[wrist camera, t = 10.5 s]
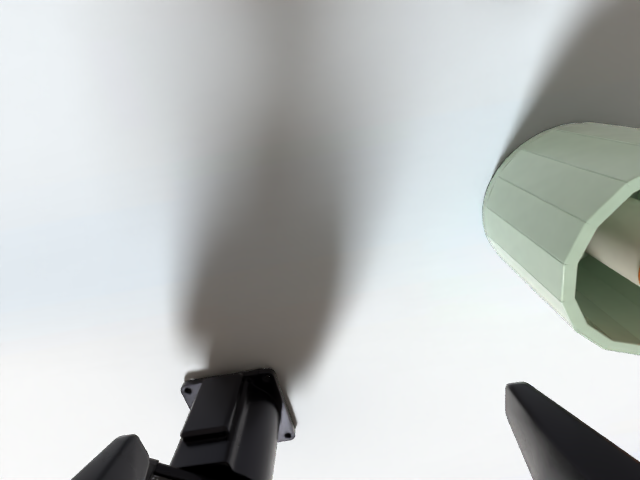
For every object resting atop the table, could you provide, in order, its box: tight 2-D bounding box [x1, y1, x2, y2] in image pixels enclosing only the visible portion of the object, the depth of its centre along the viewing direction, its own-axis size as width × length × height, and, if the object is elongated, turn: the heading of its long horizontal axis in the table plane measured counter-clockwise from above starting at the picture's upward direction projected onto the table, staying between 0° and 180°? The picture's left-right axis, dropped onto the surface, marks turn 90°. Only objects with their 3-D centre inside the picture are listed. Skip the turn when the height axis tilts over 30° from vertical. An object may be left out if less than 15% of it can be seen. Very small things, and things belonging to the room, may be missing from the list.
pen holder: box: [482, 122, 640, 355], centre depth 15 cm, size 8×8×7 cm
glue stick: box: [585, 197, 640, 287], centre depth 14 cm, size 3×3×8 cm
